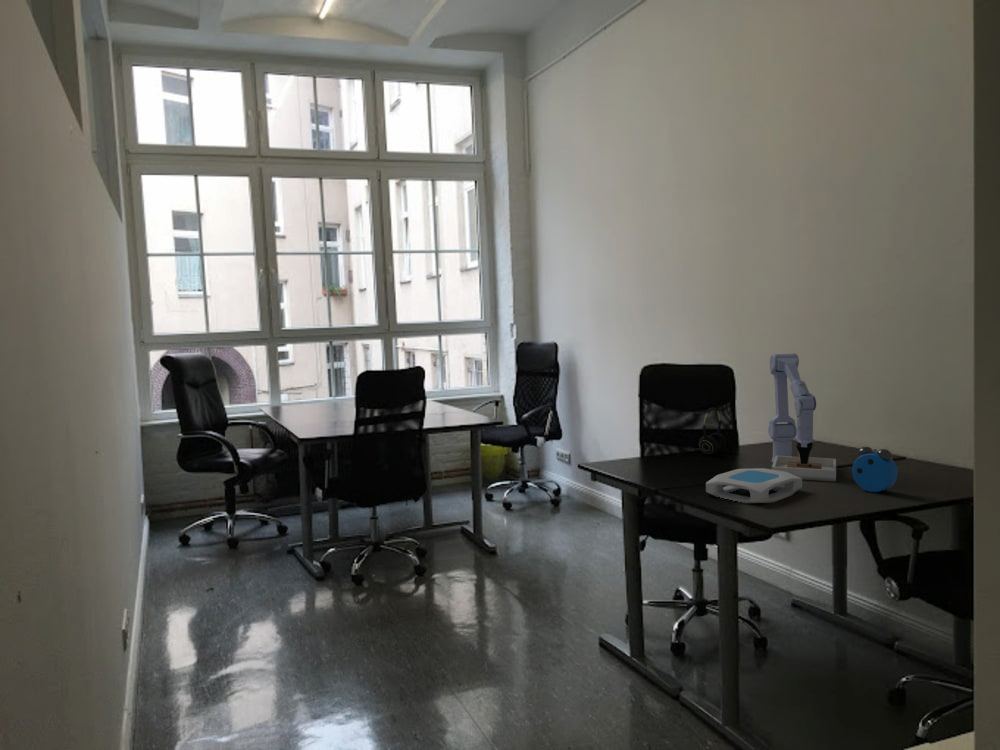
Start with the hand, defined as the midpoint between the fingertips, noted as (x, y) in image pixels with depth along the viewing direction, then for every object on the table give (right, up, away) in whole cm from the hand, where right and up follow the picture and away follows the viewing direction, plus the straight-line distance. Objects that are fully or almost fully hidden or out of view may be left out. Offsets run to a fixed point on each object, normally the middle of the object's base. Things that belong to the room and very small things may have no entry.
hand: (804, 462), depth 298 cm
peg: (0, -2, 0) cm, 2 cm away
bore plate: (0, -4, 0) cm, 4 cm away
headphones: (-24, -1, +42) cm, 48 cm away
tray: (0, -4, 0) cm, 4 cm away
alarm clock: (+13, -7, -29) cm, 32 cm away
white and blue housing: (-28, -8, -28) cm, 40 cm away
